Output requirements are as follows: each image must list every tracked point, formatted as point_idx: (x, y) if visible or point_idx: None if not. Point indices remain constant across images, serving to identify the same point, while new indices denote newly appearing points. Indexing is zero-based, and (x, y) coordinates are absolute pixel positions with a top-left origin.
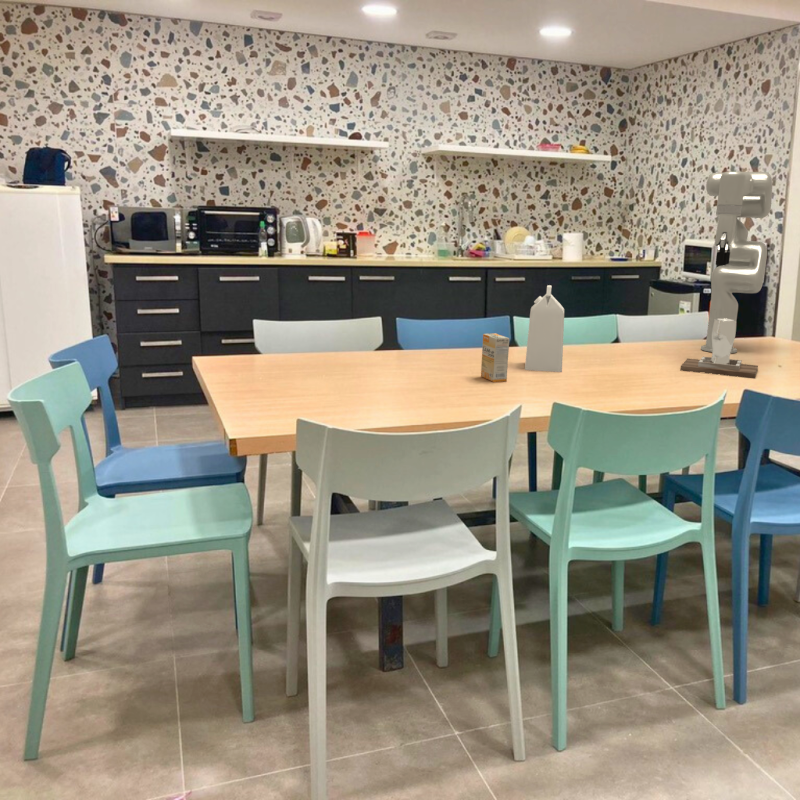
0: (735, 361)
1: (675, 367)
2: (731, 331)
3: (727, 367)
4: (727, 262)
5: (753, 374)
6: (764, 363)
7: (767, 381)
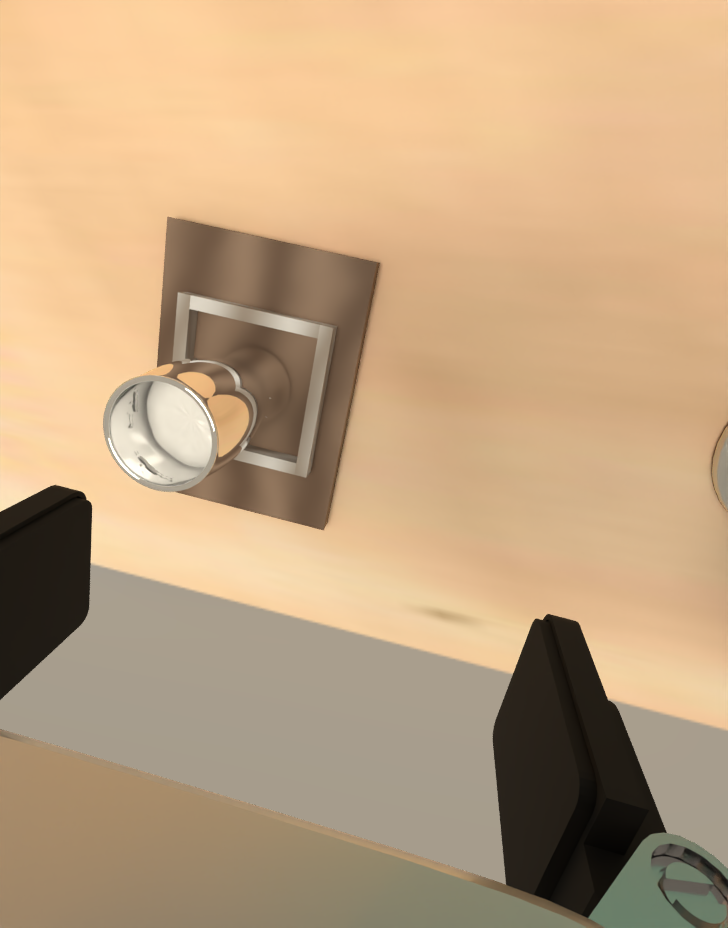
0: (299, 452)
1: (239, 201)
2: (145, 447)
3: None
4: (496, 736)
5: None
6: (492, 580)
7: (128, 507)
